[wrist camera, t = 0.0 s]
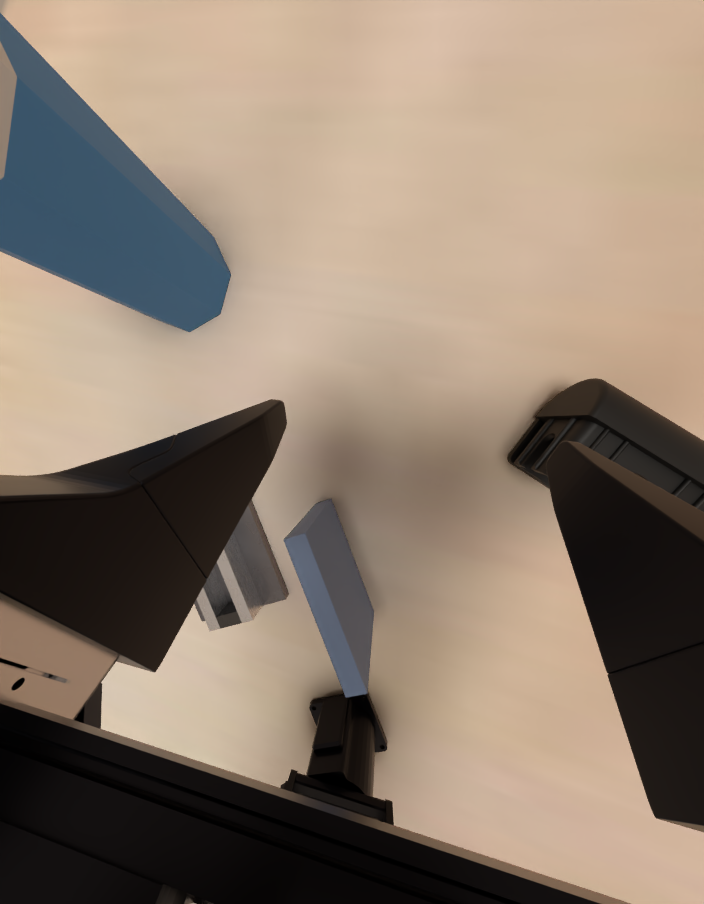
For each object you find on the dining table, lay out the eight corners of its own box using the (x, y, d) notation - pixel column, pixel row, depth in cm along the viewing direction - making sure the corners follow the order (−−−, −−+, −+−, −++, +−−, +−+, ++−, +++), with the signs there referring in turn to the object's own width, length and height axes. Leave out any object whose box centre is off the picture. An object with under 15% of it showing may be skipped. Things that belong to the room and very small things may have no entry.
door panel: (374, 611, 26) (367, 693, 18) (358, 614, 26) (345, 697, 18) (331, 498, 25) (305, 533, 17) (316, 503, 26) (283, 539, 18)
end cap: (664, 452, 21) (792, 466, 14) (601, 522, 22) (693, 565, 15) (554, 384, 21) (628, 368, 15) (499, 456, 23) (544, 471, 16)
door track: (288, 594, 27) (277, 613, 24) (207, 616, 29) (187, 636, 26) (222, 428, 26) (202, 429, 23) (141, 461, 28) (114, 465, 25)
